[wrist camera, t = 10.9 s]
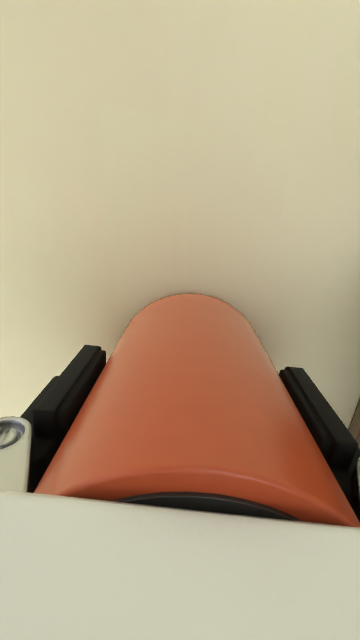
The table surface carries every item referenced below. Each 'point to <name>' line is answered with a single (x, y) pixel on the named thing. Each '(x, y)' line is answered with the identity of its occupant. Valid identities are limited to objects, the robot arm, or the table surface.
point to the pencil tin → (195, 424)
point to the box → (356, 426)
